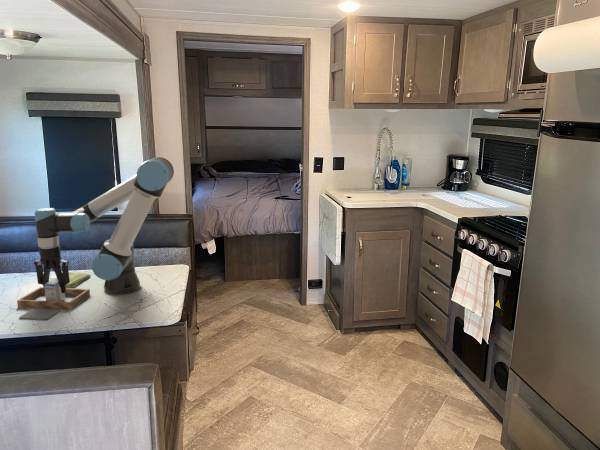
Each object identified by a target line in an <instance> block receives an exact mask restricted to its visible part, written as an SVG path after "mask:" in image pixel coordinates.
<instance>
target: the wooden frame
mask: <svg viewBox="0 0 600 450" xmlns="http://www.w3.org/2000/svg"><path fill="white" fill-rule="evenodd" d="M42 295H45V292H44V288H43V286H40V287H38V288H36V289H35V290H33V291H31V292H30V293H27V294H25V296H23V297H21V298H19V299H17V300H16V301H17V302H16V304H17V308H20V309H21V308H22V309H33V308H46V309H61V311H62V310H65V311H66V310H67V311H71V310H72V309H75V307H77V306H78V305H80V304H81V303H82V302H83V301H86V300H87V298H89V297H90V296H91V291H90V288H75V287H74V288H66V292H65V297H66V296H69V297H72V296H73V297H74V298H72V299H70V301H46V300H35V299H37V298H39V297H41V296H42Z"/></svg>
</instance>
